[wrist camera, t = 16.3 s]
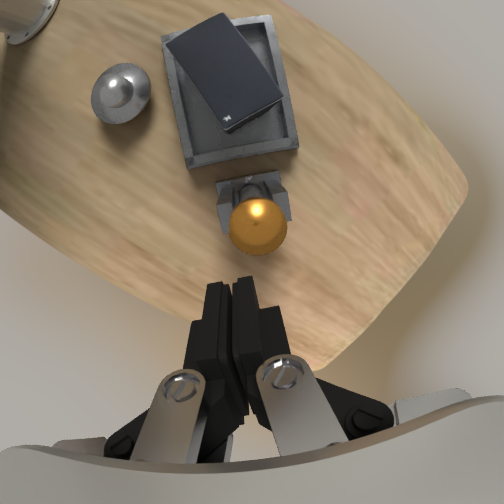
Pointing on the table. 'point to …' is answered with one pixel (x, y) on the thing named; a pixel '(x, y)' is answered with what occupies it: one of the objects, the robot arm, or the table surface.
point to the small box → (225, 72)
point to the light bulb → (257, 223)
